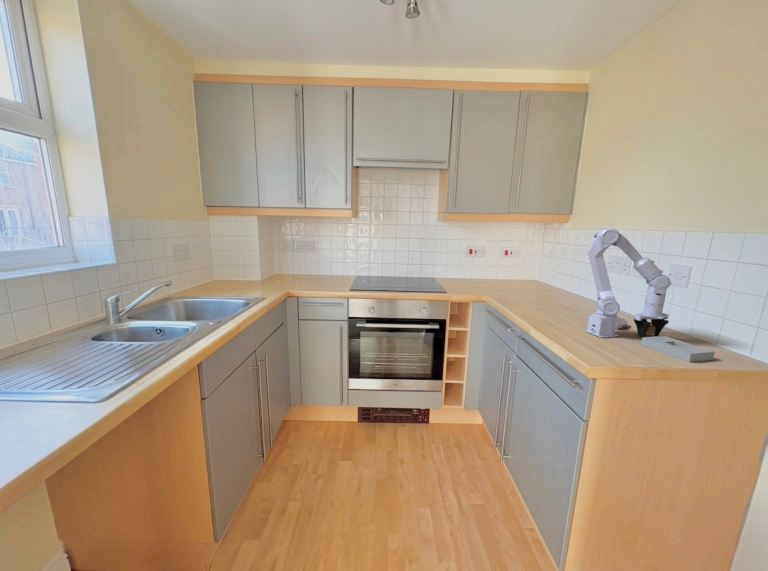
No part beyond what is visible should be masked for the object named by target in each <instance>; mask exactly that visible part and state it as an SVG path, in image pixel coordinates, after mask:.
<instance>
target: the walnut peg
mask: <svg viewBox="0 0 768 571" xmlns="http://www.w3.org/2000/svg"><path fill="white" fill-rule="evenodd" d="M655 329H656V326H653V325H652V324H651V325H650V326H649V328H648V330H647V333H646V336H645V337H655V336H654V335H655Z"/></svg>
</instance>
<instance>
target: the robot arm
mask: <svg viewBox="0 0 768 571" xmlns="http://www.w3.org/2000/svg"><path fill="white" fill-rule="evenodd" d="M610 246H613V247H617V248H618V249H620V250H621V251H622V252H623V253H624V254H625V255H626V256H627V257H628V258H629V259H630V260H631V261H632V262H633V268H634V270H636V272H638V274H639V275H640V276H641V277H642V278H643V279H644V280H645V282H646V284H647V286H648V287H647V291H646V295H645V300H644V306H643V311H642V312H641V313H638V314H635V316H634V318H633V322H634V323H635V326H636V331H637V336H638V337H639V338H642V337H645V336H646V333H647V330H648V328H649V326H650V325H653V326H656V329H655V335H654V337H656V336H660V334H661V333H662V330H663V329H664V327H666V326H667V325H668V323H669V320H668V319H669V317H670V316H669V314H668V313H665V312H663V311H664V305H665V301H666V295H667V290H668V288H670V287H671V285H672V282H671V278H670V277H669V276H667V275H666V274H663V273H664V270H663V269H660V268H659V267H658V266H657V265H656V264H655V263H656V261H655V260H654V259H650V257H644V256H642V255H641V254H640V252H639V251H638V250H637V249H636V248H635V247H634V246H633V244H632V243H631V242H630V241H629V240H628V238H626V236H625V235H624V234H622V233H620V232H619V230H618V229H616V228H613V227H609V228H607V227H605V228H601V229H599V230H598V231H597V232H596V233H594V234H593V237H592V240H591V242H590V245H589V247H588V249H587V254H588V259H589V262H590V266H591V271H592V275H593V279H594V283H595V287H596V292H597V293H596V297H597V300H596V307H597V309H596V311H595V313H593V314H591V315H590V316H589V317H588V320H587V328H586V329H585V330H584V332H586V333H588V334H590V333H591V334H590V335H593V336H596V337H598V338H615V337H620V335H619V334H617V333H615V330H616V329H615V325H616V319H617V317H618V313H619V311H620V310H621V307H620V304H619V302H618V301H617V300H616V297H615V295H614V293H613V291H612V290H613V289H612V286H611V283H610V282H611V281H610V278H609V275H608V270H607V267H606V266H607V265H606V263H605V262H606V261H605V258H604V253H605V251H606V250H607V249H608V248H609V247H610ZM649 320H650V321H649Z"/></svg>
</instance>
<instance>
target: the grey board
mask: <svg viewBox="0 0 768 571" xmlns="http://www.w3.org/2000/svg"><path fill="white" fill-rule="evenodd" d="M640 345H641V346H643V347H646V348H648V349H651V350H654V351H655V352H656V351H657V352H658V353H659V352H660V353H662V354H665V355H668V356H670V357H674V358H676V359H679V360H682V361H684V362H687V363H694V361H697V362H705V361H706V360H707V361H713V360H714V358H715V354H716V351H715V350H714V351H713V350H711V349H709V348H704V347H702V346H698V345H695V344H693V343H688V342H685V341H682V340H679V339H677V338H672V337H669V336H666V335H659V336H656V337H655V336H654V337H641V342H640Z"/></svg>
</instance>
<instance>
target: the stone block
mask: <svg viewBox="0 0 768 571" xmlns="http://www.w3.org/2000/svg"><path fill="white" fill-rule="evenodd" d="M628 325H629V324H628V320H626V319H625V318H622V317H620V316H617V319H616V325H615V330H616V329H619V330H621V328H622V329H625V327H626V328H627V327H628Z"/></svg>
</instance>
